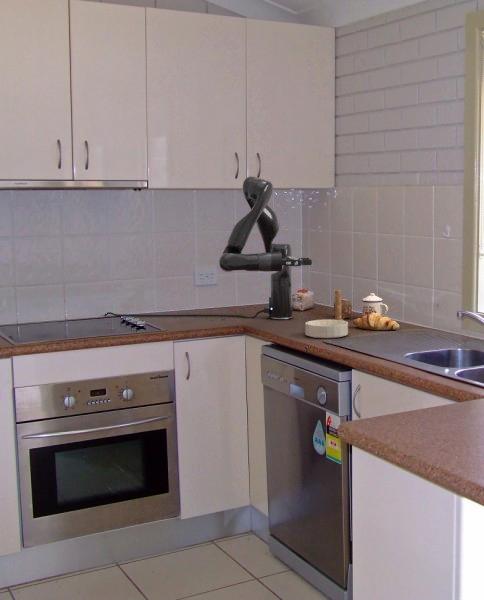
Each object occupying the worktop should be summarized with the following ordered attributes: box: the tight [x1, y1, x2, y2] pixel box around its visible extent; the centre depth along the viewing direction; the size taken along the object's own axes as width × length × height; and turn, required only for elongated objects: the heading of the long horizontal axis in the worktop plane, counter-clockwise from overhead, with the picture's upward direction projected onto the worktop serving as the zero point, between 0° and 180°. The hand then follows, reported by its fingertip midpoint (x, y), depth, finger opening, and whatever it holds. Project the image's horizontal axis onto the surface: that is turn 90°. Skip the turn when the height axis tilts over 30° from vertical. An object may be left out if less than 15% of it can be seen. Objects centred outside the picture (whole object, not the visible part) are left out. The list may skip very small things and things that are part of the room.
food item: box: [292, 288, 316, 312], centre depth 401 cm, size 14×8×10 cm, turn 158°
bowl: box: [304, 319, 349, 339], centre depth 327 cm, size 17×17×5 cm
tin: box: [333, 298, 353, 320], centre depth 374 cm, size 15×3×8 cm, turn 25°
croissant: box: [351, 312, 400, 331], centre depth 343 cm, size 21×10×8 cm, turn 65°
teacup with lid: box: [361, 292, 389, 317], centre depth 367 cm, size 12×9×12 cm
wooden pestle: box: [333, 289, 345, 321], centre depth 341 cm, size 4×4×16 cm
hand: (310, 261), depth 336 cm, fingers open, 8 cm apart
